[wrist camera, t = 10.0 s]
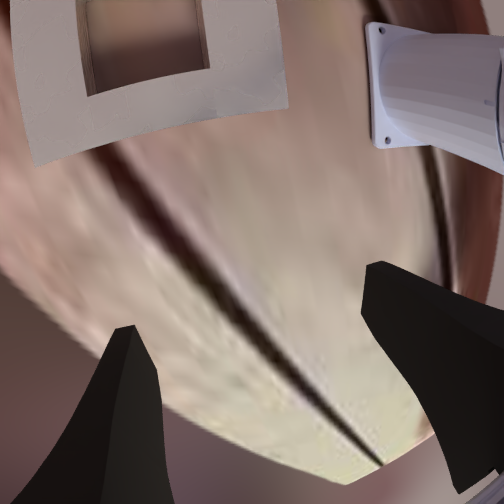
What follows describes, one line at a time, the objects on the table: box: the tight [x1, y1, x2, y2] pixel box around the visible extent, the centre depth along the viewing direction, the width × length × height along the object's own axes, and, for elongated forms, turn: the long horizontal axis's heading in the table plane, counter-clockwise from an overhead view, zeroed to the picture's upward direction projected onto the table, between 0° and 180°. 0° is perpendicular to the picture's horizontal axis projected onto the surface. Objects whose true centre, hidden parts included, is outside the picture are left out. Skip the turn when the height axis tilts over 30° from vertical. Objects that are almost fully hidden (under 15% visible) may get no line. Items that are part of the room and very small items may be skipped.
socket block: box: [10, 0, 289, 168], centre depth 11 cm, size 12×10×2 cm
